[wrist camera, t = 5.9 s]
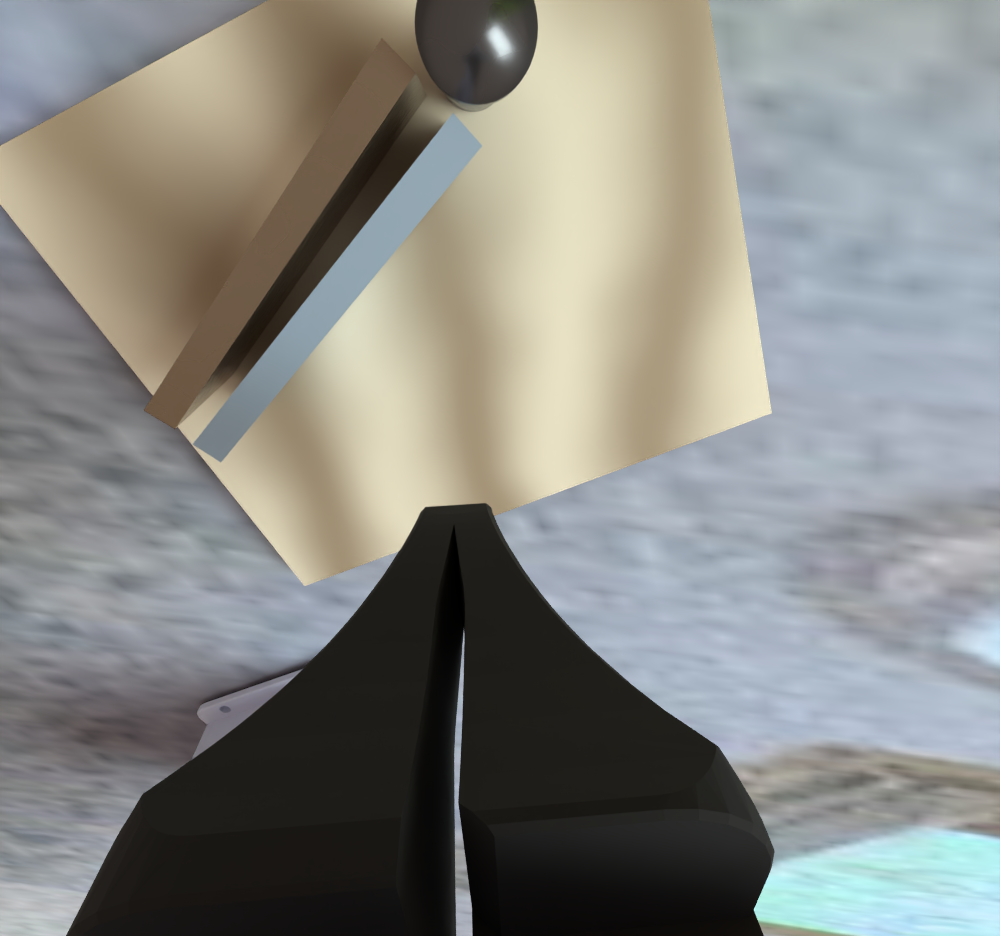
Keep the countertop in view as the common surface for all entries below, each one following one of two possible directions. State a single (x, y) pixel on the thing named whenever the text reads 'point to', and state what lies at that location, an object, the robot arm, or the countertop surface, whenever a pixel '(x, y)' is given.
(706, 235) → the maple board
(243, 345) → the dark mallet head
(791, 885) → the countertop surface
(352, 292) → the slate bar
